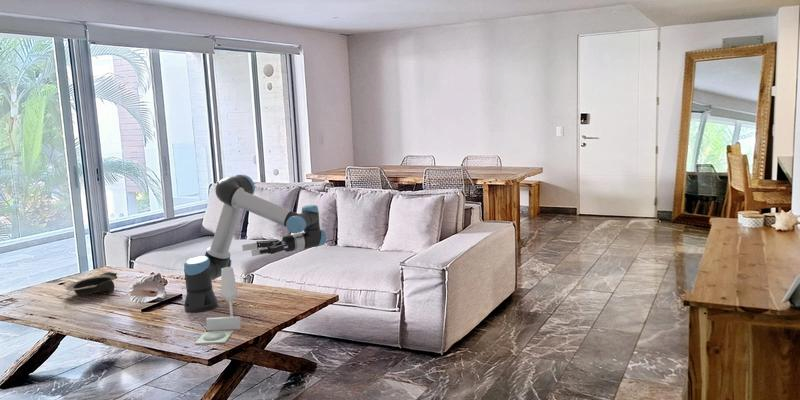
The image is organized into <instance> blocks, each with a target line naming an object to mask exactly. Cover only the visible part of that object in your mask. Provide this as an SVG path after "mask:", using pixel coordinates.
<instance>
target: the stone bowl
mask: <svg viewBox="0 0 800 400" xmlns="http://www.w3.org/2000/svg"><path fill="white" fill-rule="evenodd" d="M117 274H118V273H117V272H110V271H109V272H104V273H101V274H99V275H94V276H91V277H87V278H83V279H81V280H77V281H75V282H73V283H70V284H69V285H68V286H67V287H65V289H66V290H67V291H74V293H75V294H76V295H77V296H78V297H81V296H89V295H91V294H95V293H102V292H103V293H102V294H104V295H110V294H111V293H113V291H114V290H115V282H114V280H116V279H118V276H117ZM109 293H110V294H109Z"/></svg>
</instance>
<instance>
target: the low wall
mask: <svg viewBox="0 0 800 400" xmlns="http://www.w3.org/2000/svg"><path fill="white" fill-rule="evenodd" d="M205 322H206V323H205V324H206V332H211V331H231V330H241V329H242V323H241V322H242V321H241V316H233V317H230V316H222V317H207V318H206V319H205Z"/></svg>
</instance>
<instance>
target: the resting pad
mask: <svg viewBox="0 0 800 400" xmlns="http://www.w3.org/2000/svg"><path fill="white" fill-rule="evenodd" d="M233 333H234V330H215V331H205V332H203V333H202V335H200V337H199V338H198V339H197V340H196V342H194V345H195V346H196V345H211V344H213V345H215V344H225V343H227V341H228V340H229V339H230V338H231V336H232V335H233Z"/></svg>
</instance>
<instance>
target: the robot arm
mask: <svg viewBox="0 0 800 400" xmlns="http://www.w3.org/2000/svg"><path fill="white" fill-rule="evenodd" d="M255 191H256V185H255V182H254V181H253V179H252V178H251V177H250V176H248V175H246V174H236V175H232V176H229V177H223V178H222V179H220V180H219V181H218V182H217V184H216V186H215V195H216V197H217V199H218V201H220V202H221V203H223V205H222V209H221V211H220V215H219V218H218V222H217V226H216V227H215V232H214V236H213V239H212V243H211V245H210V246H209V247H208V248H206V250H205V252H204V253H205V254H204V255H199V256H195V257H190V258H188V259H187V260H186V261H185V262H184V264H183V268H184V269H183V273H184V279H185V287H186V289H185V290H186V296H185V301H184V303H183V304H184V306H183V307H184V311H186V312H189V313H200V312H206V311H210V310H213V309H215V308H216V307H218V306H219V303H218V302H219V301H218V298H217V296H216V294H215V292H214V289H213V282H212V281H215V280H217V279H218V278H221V269H222V268H225V267H232V259H231V253H230V251H229V250H230V248H231V244H232V242H233V238H234V235H235V231H236V228H237V224H238V222H239V218H240V215H241V212H242V210H245V211H248V212H250V213H251V214H254V215H257V216H259V217H262V218H264V219H267V220H268V221H271V222H273V223H276V224H278V225H281V226H283V227H285V228H286V229H287V231H288V232H289V233H290V234H286V235H283V236H282V239H278V238H276V239H271V240H269V239H268V240H258V241H256V242H252V243H247V244H246V243H245V244H242V246H241V247H242V252H247V251H251V252H250V253H251V256H252V257H256V256H262V255H267V254H268V255H269V254H270V255H273V254H276V253H280V252H282V251H284V252H286V253H289V252H293V251H299V252H301V250H303V249H310V248H317V247H320V246H321V247H322V246H324V245H326V242H327V234H326V232H325V229H323V228H321V224H320V213H319V207H318V205H315V204H308V205H303V206H302V207H301V213H297V212H295V211H293V210H290V209H288V208H286V207H283V206H281V205H278V204H276V203H273V202H271V201H268V199H267V200H266V199H264V198H261V197H259V196H256V195H255Z"/></svg>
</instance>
